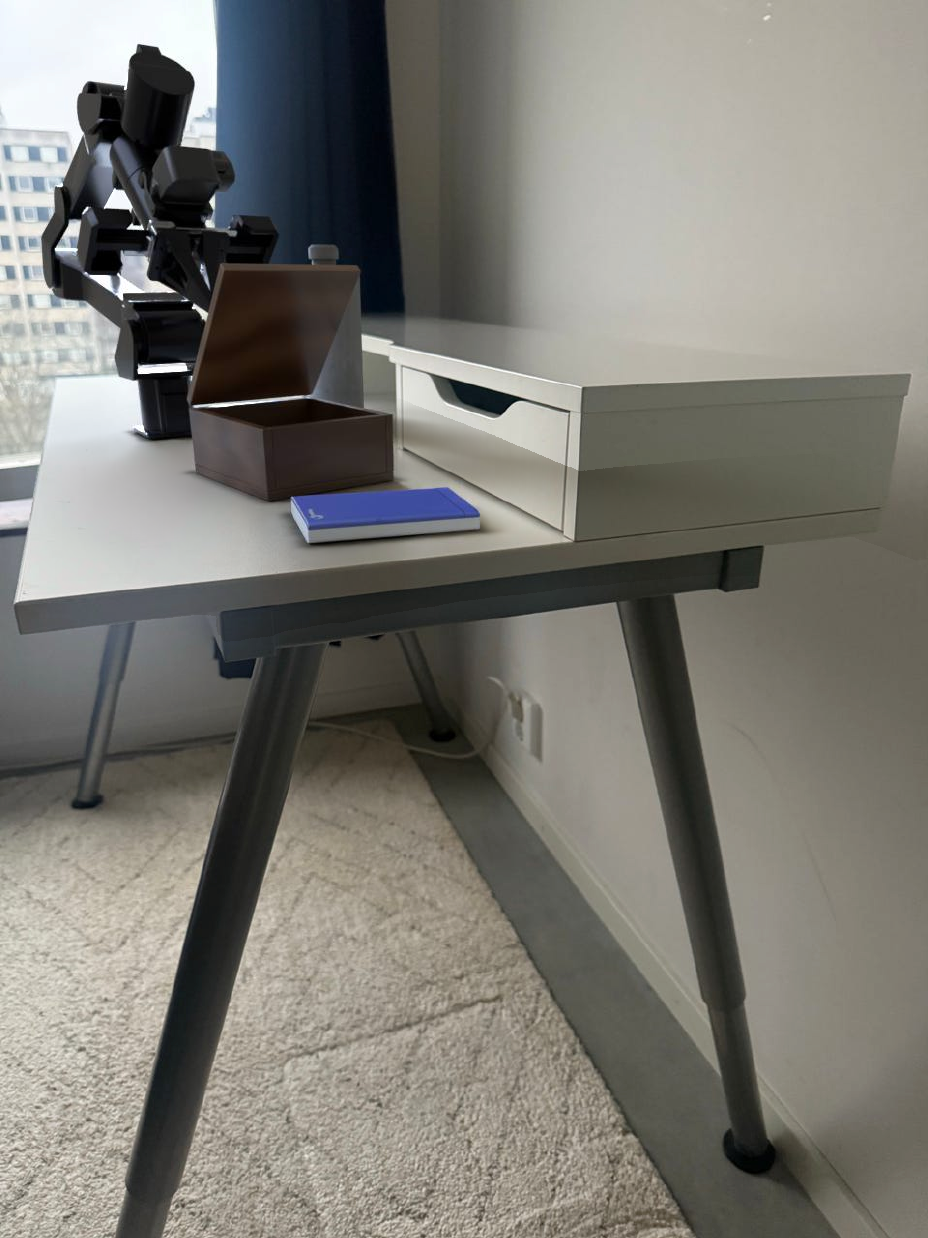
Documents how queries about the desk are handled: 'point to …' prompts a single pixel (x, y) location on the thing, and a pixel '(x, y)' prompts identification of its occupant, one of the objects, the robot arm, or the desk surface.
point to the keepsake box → (292, 446)
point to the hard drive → (382, 514)
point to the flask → (342, 345)
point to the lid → (269, 330)
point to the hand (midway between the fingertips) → (215, 310)
